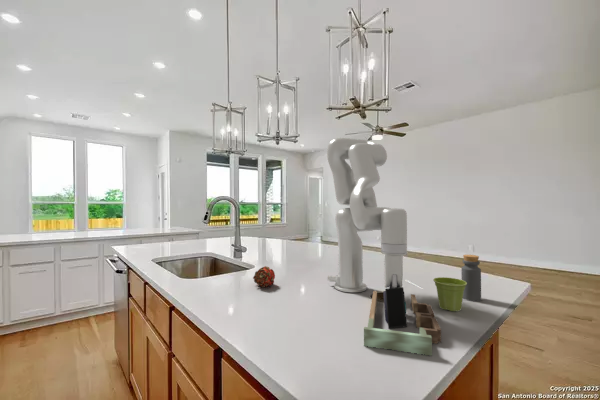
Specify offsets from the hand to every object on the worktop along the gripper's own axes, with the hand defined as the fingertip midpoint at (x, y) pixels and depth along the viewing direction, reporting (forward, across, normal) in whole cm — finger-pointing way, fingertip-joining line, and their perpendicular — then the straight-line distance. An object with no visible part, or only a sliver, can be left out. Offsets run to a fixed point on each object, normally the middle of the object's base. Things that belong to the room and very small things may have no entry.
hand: (394, 308), depth 85 cm
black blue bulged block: (+2, +7, 0) cm, 8 cm away
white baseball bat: (+2, -28, +12) cm, 30 cm away
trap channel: (+1, +6, +2) cm, 7 cm away
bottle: (+2, -21, +26) cm, 34 cm away
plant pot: (+2, -9, +17) cm, 19 cm away
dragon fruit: (+2, -14, -50) cm, 52 cm away
